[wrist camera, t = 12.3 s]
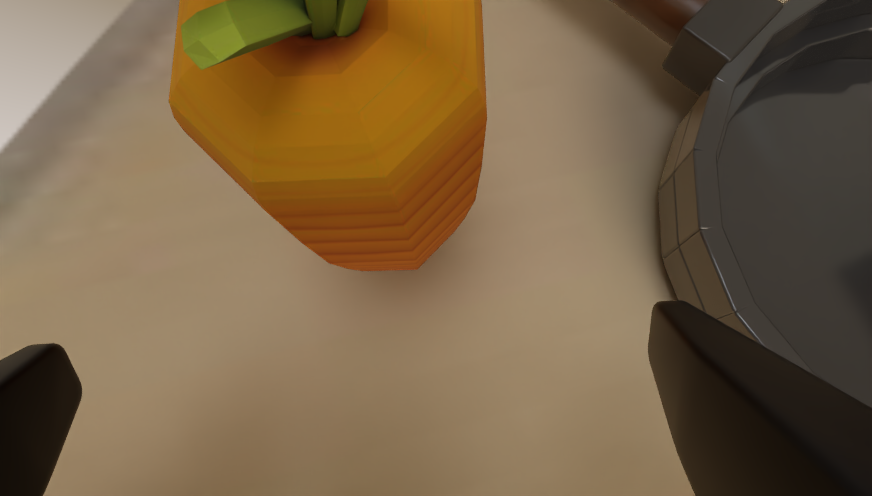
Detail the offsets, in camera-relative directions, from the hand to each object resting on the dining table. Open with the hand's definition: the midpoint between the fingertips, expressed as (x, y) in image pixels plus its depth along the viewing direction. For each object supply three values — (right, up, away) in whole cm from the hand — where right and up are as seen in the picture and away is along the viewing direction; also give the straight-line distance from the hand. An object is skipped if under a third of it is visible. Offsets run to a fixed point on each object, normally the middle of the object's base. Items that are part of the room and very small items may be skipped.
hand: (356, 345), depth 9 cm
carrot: (0, +2, +10) cm, 10 cm away
